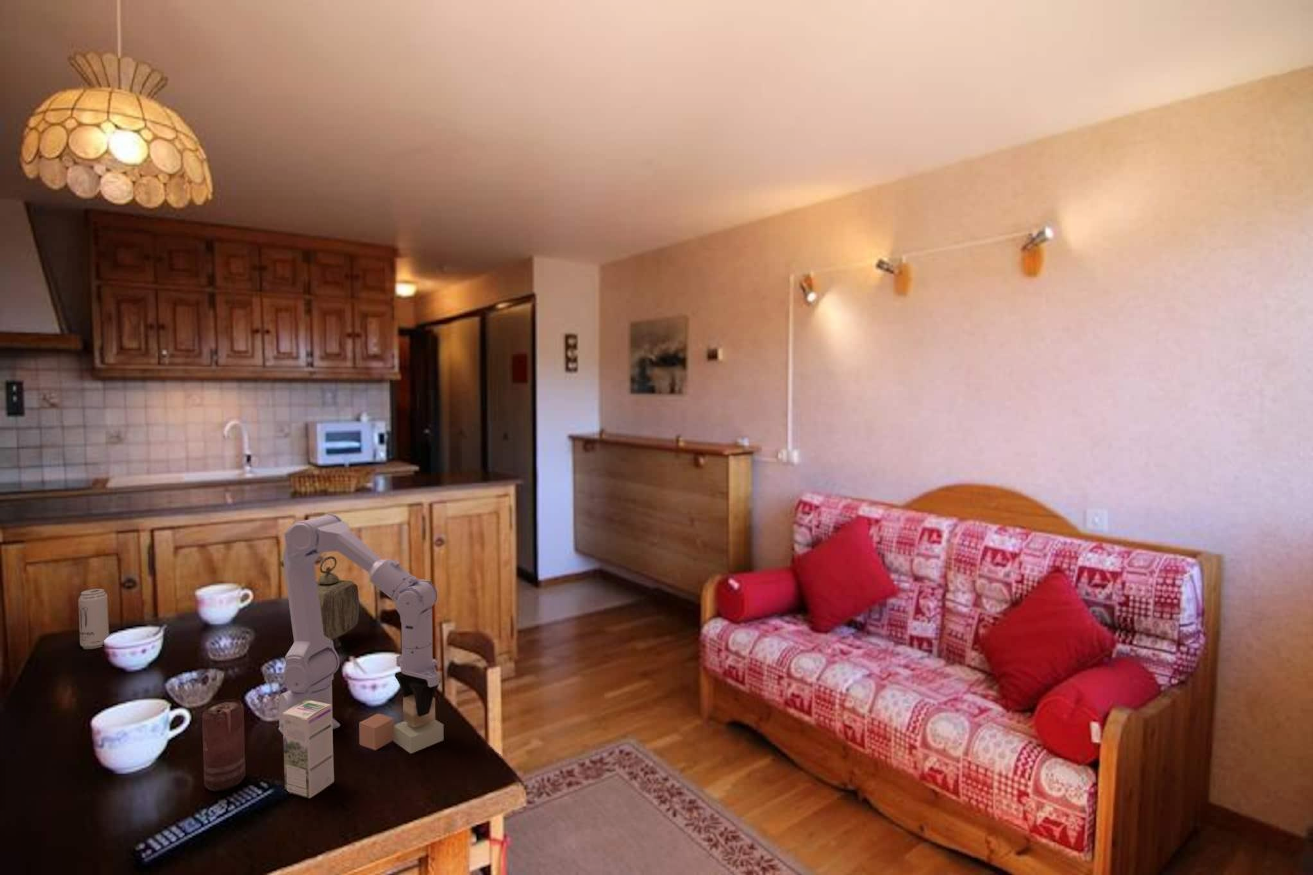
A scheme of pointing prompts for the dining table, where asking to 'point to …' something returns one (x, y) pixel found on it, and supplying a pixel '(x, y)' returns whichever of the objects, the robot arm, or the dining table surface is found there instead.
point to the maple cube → (411, 712)
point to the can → (223, 744)
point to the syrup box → (308, 748)
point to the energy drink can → (93, 618)
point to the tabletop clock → (337, 603)
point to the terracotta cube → (376, 731)
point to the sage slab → (417, 735)
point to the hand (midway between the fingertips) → (417, 710)
